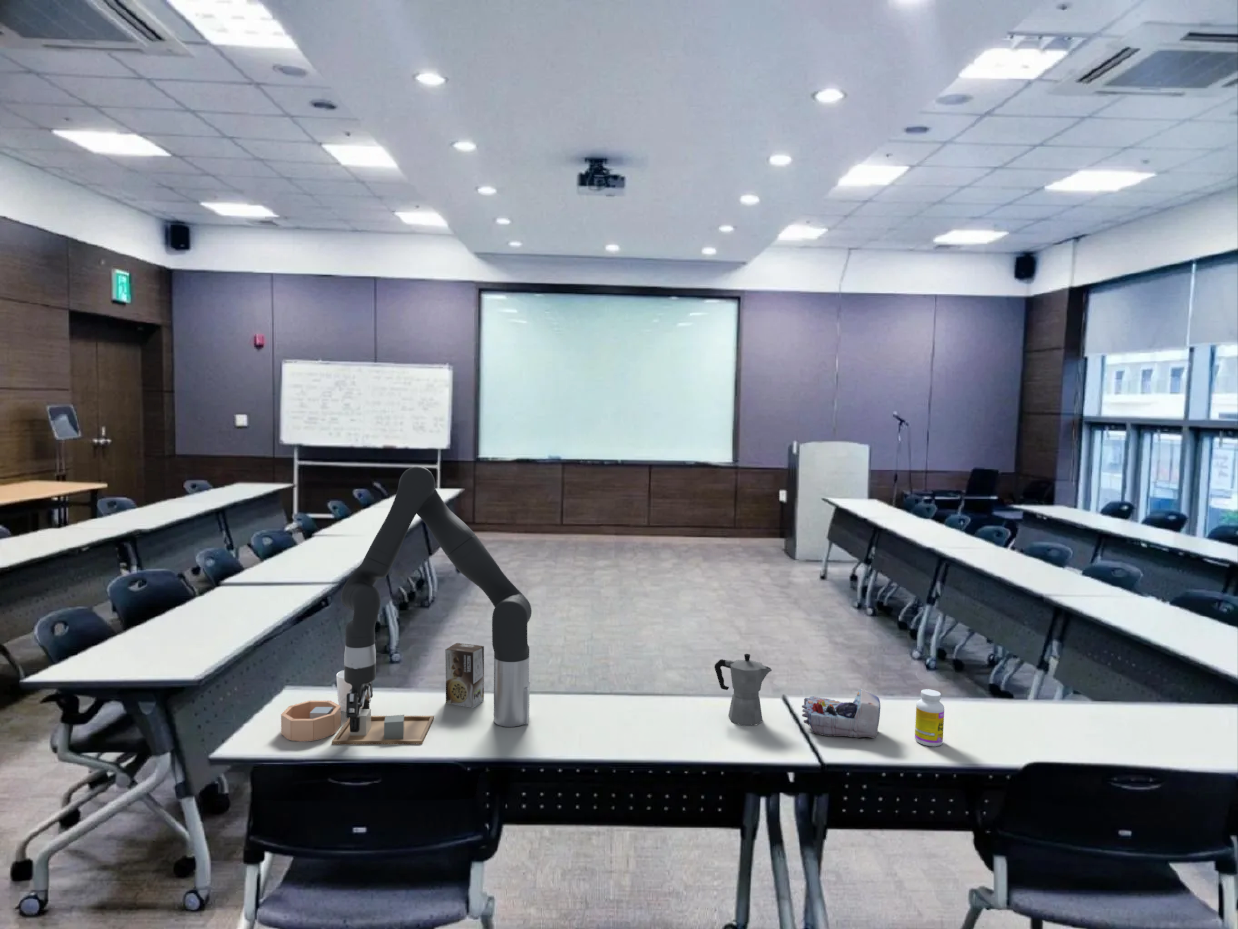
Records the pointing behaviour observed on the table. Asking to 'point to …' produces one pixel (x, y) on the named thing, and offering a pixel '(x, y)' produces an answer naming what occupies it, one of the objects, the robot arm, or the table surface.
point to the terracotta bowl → (309, 721)
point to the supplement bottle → (929, 718)
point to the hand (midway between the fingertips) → (359, 724)
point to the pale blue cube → (320, 712)
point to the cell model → (843, 715)
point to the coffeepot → (744, 689)
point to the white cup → (342, 690)
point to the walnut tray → (413, 732)
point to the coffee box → (464, 674)
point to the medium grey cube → (394, 727)
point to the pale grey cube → (364, 722)
